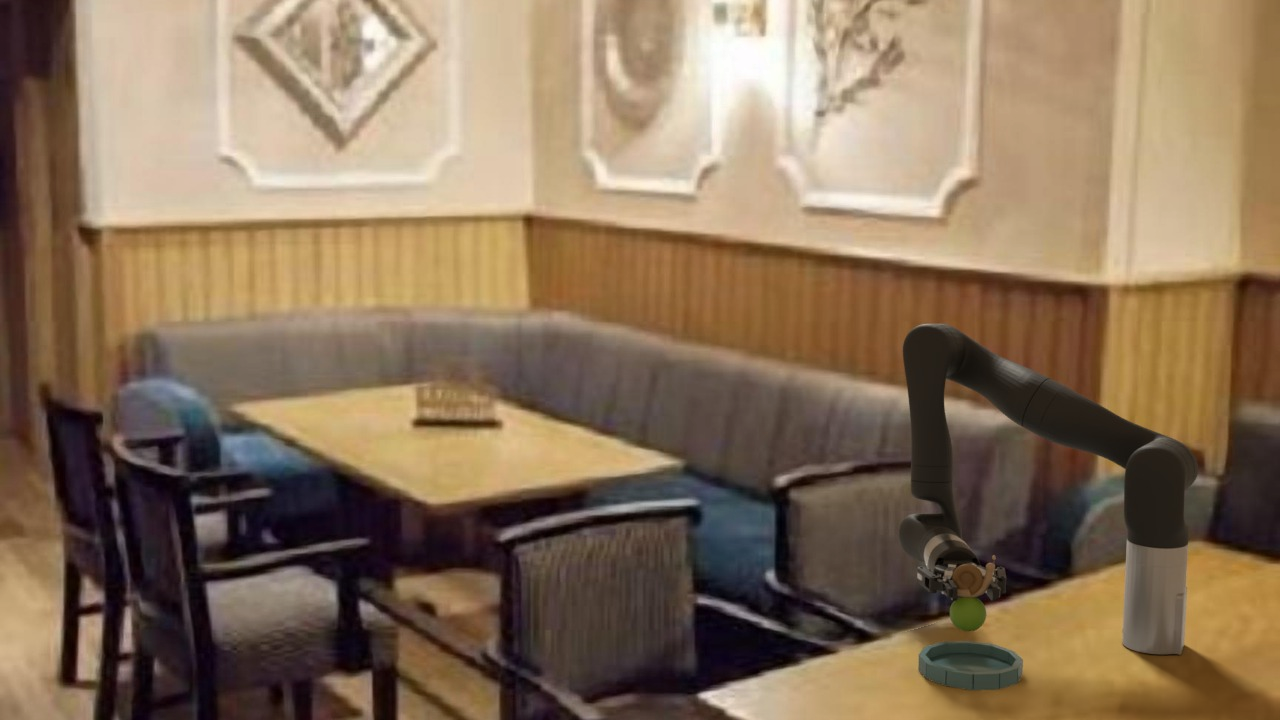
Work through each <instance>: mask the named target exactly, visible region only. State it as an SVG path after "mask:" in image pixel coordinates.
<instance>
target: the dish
mask: <svg viewBox="0 0 1280 720" xmlns="http://www.w3.org/2000/svg"><path fill="white" fill-rule="evenodd" d="M1023 667H1024V659H1023V658H1022V657H1021V656H1020V655H1019V654H1018V653H1016V651H1014V650H1012V649H1008V648H1006V647H1003V646H1002V645H1001V646H1000V645H998V644H995V643H989V642H980V641H973V640H953V641H952V640H950V641H948V640H947V641H940V642H937V643H933V644H929V645H926V646H924V647H923V648H922V650H921V651H920V652H919V653H918V671H919V672H920V674H921V675H922V676H923V675H924V676H923V677H924V678H925V679H926V678H927V680H928V679H930V680H929V681H931V680H932V682H933V681H934V683H936V682H937V683H936V684H939V685H941V684H943V685H942V686H944V685H946V686H945V687H947V686H950V687H949V688H954V687H957V688H956V689H961V688H964V690H969V691H984V690H985V691H987V690H989V691H990V690H1001V689H1005V688H1008V687H1011V686H1014V685H1017V684H1018V683H1019V681H1020V680H1021V679H1022V676H1023V673H1024V672H1023V670H1024V669H1023Z"/></svg>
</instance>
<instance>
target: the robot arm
mask: <svg viewBox="0 0 1280 720" xmlns="http://www.w3.org/2000/svg"><path fill="white" fill-rule="evenodd" d="M902 358H903V359H902V360H903V361H902V362H903V368H904V375H905V381H906V388H907V396H908V407H909V408H908V409H909V417H910V432H911V433H910V436H911V437H910V438H911V439H910V440H911V441H910V443H911V445H910V447H911V448H910V449H911V452H910V453H911V454H910V493H911V495H912V497H914V498H915V499H918V500H921V501H926V502H930V503H934V504H935V505H937V507H938V510H939V513H910V514H909V515H906V516H904V518H903V519H902V520H901V522H900V524H899V528H898V539H899V540H898V541H899V543H900V546H901V548H902V550H903V551H904V552H905V554H907V555H908V556H909V557H911V558H913V559H915V560H917V561H919V562H921V563H924V564H925V566H917V574H916V575H917V578H916V580H917V581H916V582H917V584H918V585H919V586H921V587H923V588H924V589H925V590H926V591H927V592H929V593H931V594H936V593H938V591H940V592H941V594H942V595H945V597H946V598H948V599H949V598H950V600H951V601H953V602H954V601H957V598H958V595H957V592H958V589H957V588H958V587H957V586H956V584H955V583H954V582H953V573H954V571H955V569H956V568H957V567H959V566H960V565H963V564H971V565H974V566H976V567H977V568H978V569H979V570H980V571H981V573H982V575H983V579H984V577H985V574H986V566H985V567H984V566H982V565H981V562H980V560H979V558H978V557H977V555H976V554H975V552H974V551H973V550H972V548H971V547H970V546H969V545H968V544H967V543H966V541H964V540H963V531H962V527H961V522H960V520H959V516H958V513H957V509H956V504H955V500H954V499H955V497H954V492H953V491H954V489H953V477H954V475H953V474H954V472H953V471H954V469H953V468H954V467H953V464H954V454H953V453H954V452H953V445H952V438H951V434H950V431H949V430H950V429H949V426H948V422H947V416H946V408H945V389H946V383H947V382H946V380H949V381H951V382H954V383H956V384H959V385H961V386H963V387H966V388H968V389H969V390H972V391H974V392H976V393H977V394H979V395H981V396H983V397H984V398H985V399H986V400H987V401H988V402H990V403H991V404H992V405H993V407H995V408H996V409H997V410H998V411H999V412H1000V413H1002V414H1003V415H1004V416H1006V417H1007V418H1008V419H1009V420H1011V421H1012V422H1014V423H1016V424H1017V425H1018V426H1020V427H1022V428H1024V429H1025V430H1027V431H1029V432H1031V433H1033V434H1034V435H1037V436H1039V437H1040V438H1043V439H1045V440H1047V441H1049V442H1052V443H1054V444H1057V445H1060V446H1062V447H1066V448H1070V449H1074V450H1078V451H1080V452H1081V451H1082V452H1084V453H1089V454H1092V455H1096V456H1099V457H1102V458H1104V459H1107V460H1108V461H1110V462H1112V463H1114V464H1116V465H1118V466H1119V467H1121V468H1123V469H1125V472H1124V485H1123V486H1124V487H1123V492H1124V493H1123V519H1124V523H1125V526H1126V547H1125V548H1126V551H1125V552H1126V553H1125V570H1124V571H1125V574H1124V594H1123V614H1122V615H1123V616H1122V618H1123V619H1122V621H1123V622H1122V645H1123V646H1124V647H1125V648H1128V649H1130V650H1132V651H1135V652H1139V653H1144V654H1151V655H1182V653H1183V649H1184V645H1185V638H1186V637H1185V636H1186V618H1187V617H1186V616H1187V600H1188V599H1187V598H1188V587H1187V577H1188V576H1187V571H1188V556H1189V553H1188V552H1189V551H1188V550H1189V533H1190V529H1189V526H1188V524H1186V521H1185V491H1187V490H1188V489H1189V488H1190V487H1191V486H1193V484H1194V483H1195V481H1196V479H1197V476H1198V473H1199V465H1198V460H1197V459H1196V456H1195V455H1194V452H1192V450H1191V449H1190V448H1189V447H1188V446H1187V445H1185V444H1184V443H1183V442H1181V441H1179V440H1177V439H1175V438H1173V437H1170V436H1169V435H1166V434H1162V433H1160V432H1157V431H1155V430H1151V429H1149V428H1147V427H1144V426H1141V425H1139V424H1137V423H1134V422H1132V421H1130V420H1128V419H1125V418H1123V417H1121V416H1119V415H1118V414H1116V413H1114V412H1112V411H1111V410H1109V409H1108V408H1106V407H1104V406H1103V405H1101V404H1099V403H1097V402H1095V401H1094V400H1092V399H1090V398H1088V397H1085V396H1084V395H1082V394H1080V393H1078V392H1077V391H1074V390H1073V389H1071V388H1069V387H1068V386H1066V385H1064V384H1062V383H1060V382H1058V381H1056V380H1054V379H1053V378H1050V377H1048V376H1046V375H1044V374H1042V373H1040V372H1037V371H1035V370H1033V369H1031V368H1028V367H1026V366H1024V365H1022V364H1020V363H1017V362H1015V361H1012V360H1010V359H1007V358H1005V357H1003V356H1000V355H998V354H996V353H994V352H993V351H991V350H990V349H988V348H986V347H985V346H983V345H982V344H980V342H977V341H975V340H974V339H973V338H971V337H970V336H968V335H967V334H966V333H964V332H963V331H961V330H959V329H958V328H957V327H954V326H952V325H950V324H946V323H921V324H920V325H916V326H915V327H913V328H912V329H911V330H909V331H908V332H907V335H905V338H904V340H903V344H902ZM1006 573H1007V572H1006V568H1005V567H1003V566H997V567H996V568H995V570H994V572H993V576H992V580H991V583H990V585H989V587H988V589H987V591H986V592H985V593H984V594H986V595H987V597H988V598H989V599H990V601H992V602H997V601H998V599H1000V597H1001V594H1005V593H1006V591H1007V590H1006V583H1007V575H1006Z"/></svg>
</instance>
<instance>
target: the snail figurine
mask: <svg viewBox="0 0 1280 720" xmlns="http://www.w3.org/2000/svg"><path fill="white" fill-rule="evenodd" d="M991 557H992V558H991V559H992V560H993V562H988V563H986V564H985V568H986V574H985V577H984V579H983V575H982V573H981V571H980V570H979V569H978V568H977V567H976V566H974V565H971V564H963V565H960V566H959V567H957V568H956V569H955V571H954V573H953V582H954V583H955V584H956V586H957V587H958V588H957V589H958V592H957V601H953V602H952V603H951V605H950V608H949V617H950V620H951V622H952V624H953V625H954V626H955V627H956V628H957V629H959V630H961V631H963V632H974V631H977V630H978V629H980V628H981V627H982V626H983V625H984V623H985V621H986V619H987V609H986V606H985V605H984V603H983V602H982V600H981V599H980V598H978V597H980V596H982V595H984V594H986V593H985V592H986V591H987V589H988V587H989V585H990V583H991V580H992V576H993V572H994V570H995V569H996V565H995V560H996V555H994V554H993V555H992V556H991Z"/></svg>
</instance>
